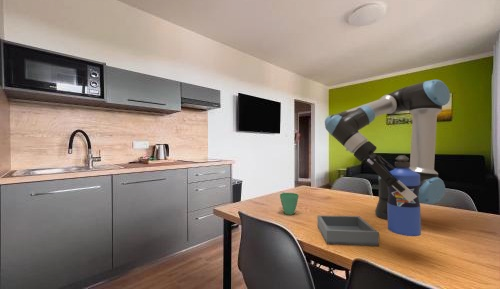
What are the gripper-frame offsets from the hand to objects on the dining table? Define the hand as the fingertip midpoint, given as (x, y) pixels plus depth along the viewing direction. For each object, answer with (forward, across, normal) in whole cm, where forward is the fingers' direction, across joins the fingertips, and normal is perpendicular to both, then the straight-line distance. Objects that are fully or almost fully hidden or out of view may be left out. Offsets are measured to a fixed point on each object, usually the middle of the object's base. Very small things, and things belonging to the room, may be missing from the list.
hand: (414, 196), depth 71 cm
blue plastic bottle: (+6, 0, -11) cm, 13 cm away
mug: (-27, -16, -55) cm, 63 cm away
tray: (-3, -3, -30) cm, 31 cm away
